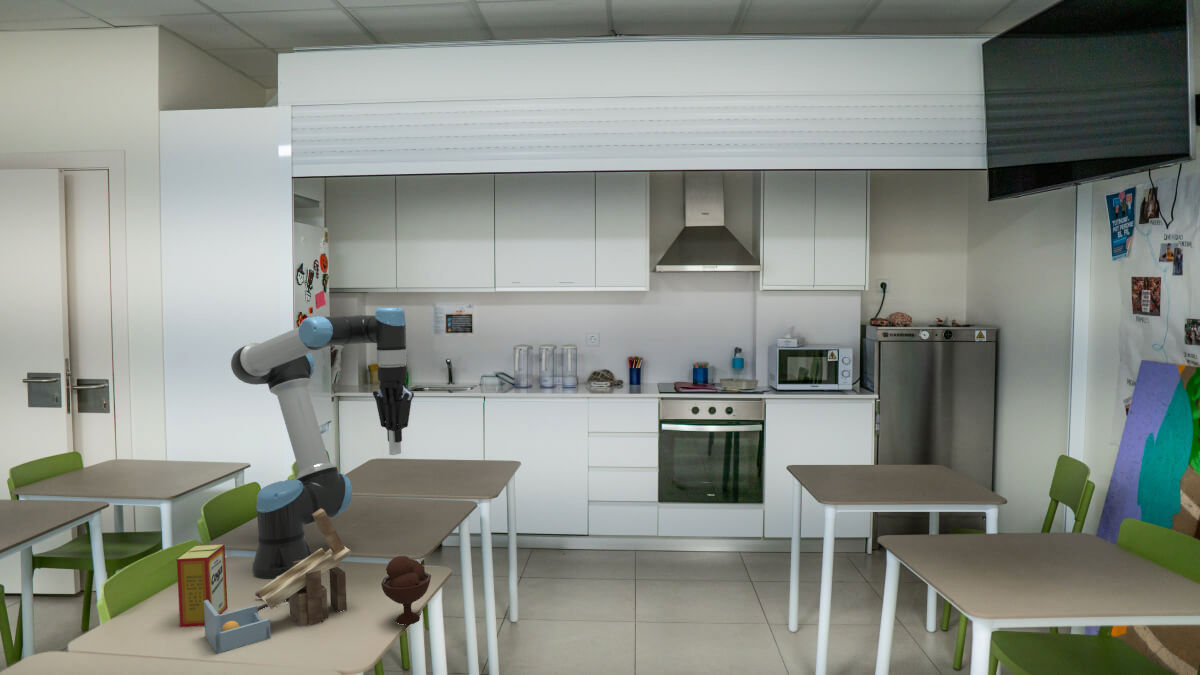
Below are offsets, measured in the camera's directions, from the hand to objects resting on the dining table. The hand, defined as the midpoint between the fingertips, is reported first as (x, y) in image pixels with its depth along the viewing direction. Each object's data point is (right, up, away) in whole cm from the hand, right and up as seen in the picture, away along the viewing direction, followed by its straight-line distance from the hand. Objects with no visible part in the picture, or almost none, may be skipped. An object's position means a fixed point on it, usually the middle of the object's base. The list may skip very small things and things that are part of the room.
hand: (395, 454), depth 192 cm
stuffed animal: (-25, -34, -14) cm, 44 cm away
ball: (-26, -33, -35) cm, 54 cm away
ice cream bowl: (+11, -34, -27) cm, 45 cm away
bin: (-25, -35, -34) cm, 55 cm away
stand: (-11, -34, -23) cm, 42 cm away
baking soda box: (-38, -35, -23) cm, 56 cm away
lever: (-13, -24, -25) cm, 37 cm away
